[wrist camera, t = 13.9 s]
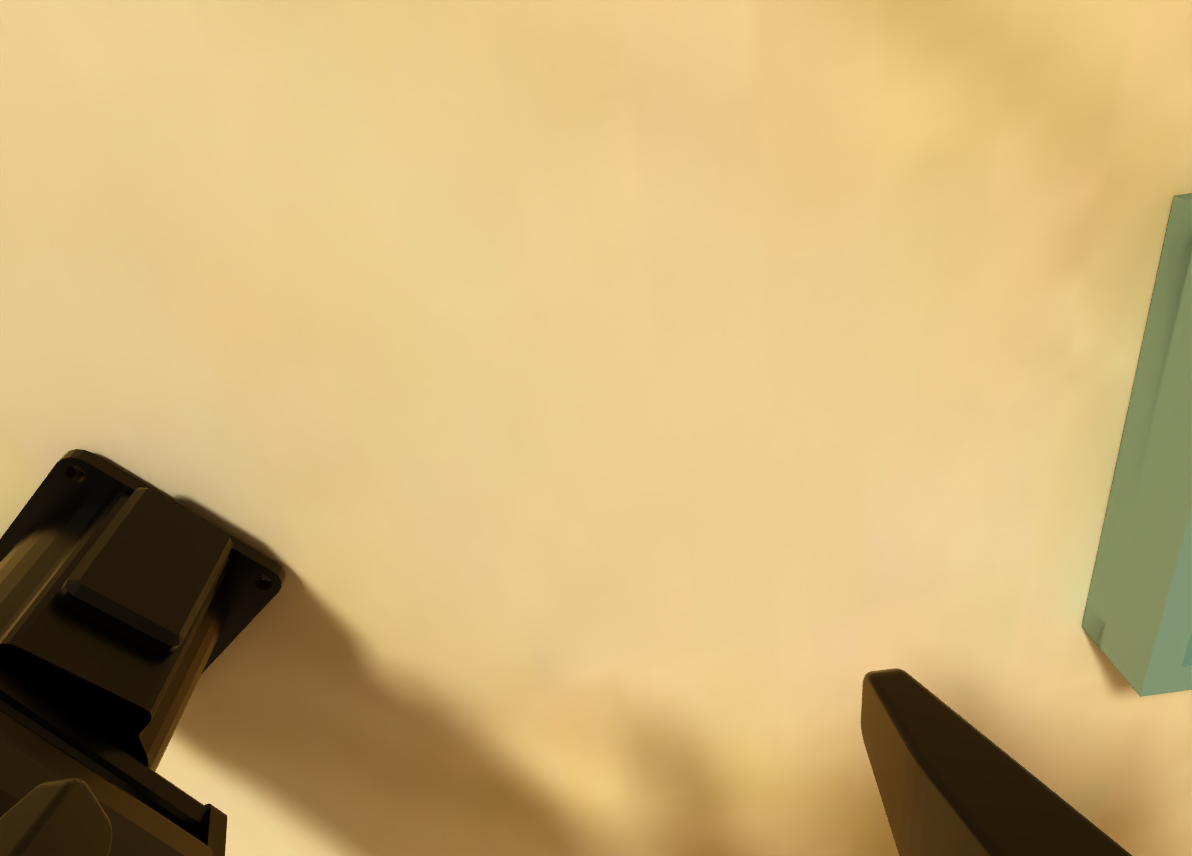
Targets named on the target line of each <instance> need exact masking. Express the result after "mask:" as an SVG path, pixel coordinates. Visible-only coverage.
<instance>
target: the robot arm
mask: <svg viewBox="0 0 1192 856" xmlns="http://www.w3.org/2000/svg"><path fill="white" fill-rule="evenodd" d="M73 465H75V466H78V467H81V468H82V469H83V470H84V471H85V473H86V474H82V473H79V472H77V471H76V470H75V469H74V467H73ZM263 575H264V576H267V577H269V578H270V579H271V581H266V580H263V579H261V578H260V577H259V576H263ZM284 579H285V572H284V570H283V568H282V567H281V566H280V565H279V564H278V563H276V562H275V561H273V560H271V559H270V558H268V557H266V556H265V555H263V554H261V553H260V552H258V551H256V550H254V549H253V548H251V547H249V546H248V545H246V544H244V543H243V542H241V541H239V540H238V539H236V538H234V537H233V536H231V535H229V534H228V533H226V532H224V531H222V530H221V529H219V528H217V527H216V526H214V525H212V524H211V523H209V522H207V521H206V520H204V519H202V518H201V517H199V516H197V515H196V514H194V513H192V512H191V511H189V510H187V509H185V508H184V507H182V506H180V505H179V504H177V503H175V502H174V501H172V500H170V499H169V498H167V497H165V496H164V495H162V494H160V493H159V492H157V491H155V490H153V489H152V488H150V487H148V486H147V485H145V484H143V483H142V482H140V481H138V480H137V479H135V478H133V477H132V476H130V475H128V474H127V473H125V472H123V471H121V470H120V469H118V468H116V467H115V466H113V465H111V464H110V463H108V462H106V461H105V460H103V459H101V458H100V457H98V456H96V455H95V454H93V453H91V452H88V451H86V450H79V449H76V450H71V451H69V452H68V453H66V454H65V455H64V456H63V457H62V458H61V459H60V460H59V461H58V462H57V463H56V465H55V466H54V467H53V469H52V470H51V472H50V473H49V474H48V476H47V477H46V478H45V480H44V481H43V482H42V484H41V485H40V486H39V488H38V489H37V490H36V492H35V493H34V494H33V496H32V497H31V498H30V500H29V501H28V503H27V504H26V505H25V507H24V508H23V509H22V511H21V512H20V513H19V515H18V516H17V517H16V519H15V520H14V521H13V523H12V524H11V525H10V527H9V528H8V529H7V531H6V532H5V534H4V535H3V536H2V538H1V539H0V856H225V844H226V829H227V815H226V814H224V813H223V812H221V811H220V810H218V809H217V808H215V807H214V806H212V805H211V804H206V805H203V804H201V803H200V802H198V801H197V800H196V799H194V798H193V797H191V796H190V795H188V794H187V793H185V792H184V791H182V790H181V789H179V788H178V787H176V786H175V785H174V784H172V783H171V782H169V781H168V780H166V779H165V778H163V777H162V776H160V775H159V774H157V773H156V772H155V771H156V769H157V767H158V765H159V763H160V761H161V759H162V757H163V754H164V752H165V750H166V748H167V746H168V744H169V742H170V739H171V737H172V735H173V733H174V731H175V729H176V727H177V725H178V722H179V720H180V718H181V716H182V714H183V712H184V710H185V708H186V705H187V703H188V701H189V699H190V697H191V695H192V693H193V690H194V688H195V686H196V684H197V682H198V680H199V678H200V676H201V674H202V673H203V672H204V671H205V670H206V669H207V668H208V666H209V665H210V664H211V663H212V662H213V661H214V660H215V659H216V658H217V657H218V656H219V655H220V654H221V653H222V652H223V650H224V649H225V648H226V647H227V646H228V645H229V644H230V643H231V642H232V641H233V640H234V639H235V638H236V637H237V636H238V635H239V633H240V632H241V631H242V630H243V629H244V628H245V627H246V626H247V625H248V624H249V623H250V622H251V621H252V620H253V619H254V617H255V616H256V615H257V614H258V613H259V612H260V611H261V610H262V609H263V608H264V607H265V606H266V605H267V604H268V603H269V602H270V600H271V599H272V598H273V597H274V596H275V595H276V594H277V593H278V592H279V590H280V589H281V587H282V584H283V582H284ZM861 730H862V735H863V740H864V744H865V747H866V750H867V753H868V757H869V760H870V763H871V766H872V769H873V773H874V776H875V779H876V782H877V785H878V789H879V792H880V795H881V798H882V801H883V805H884V808H885V811H886V814H887V817H888V821H889V824H890V827H891V830H892V833H893V837H894V840H895V843H896V846H897V849H898V852H899V855H900V856H1132V855H1131V854H1129V853H1128V852H1127V851H1126V850H1124V849H1123V848H1122V847H1121V846H1120V845H1118V844H1117V843H1116V842H1115V841H1113V840H1112V839H1111V838H1110V837H1108V836H1107V835H1106V834H1105V833H1104V832H1102V831H1101V830H1100V829H1099V828H1097V827H1096V826H1095V825H1094V824H1092V823H1091V822H1090V821H1089V820H1088V819H1086V818H1085V817H1084V816H1083V815H1081V814H1080V813H1079V812H1078V811H1076V810H1075V809H1074V808H1073V807H1072V806H1070V805H1069V804H1068V803H1067V802H1065V801H1064V800H1063V799H1062V798H1060V797H1059V796H1058V795H1057V794H1056V793H1054V792H1053V791H1052V790H1051V789H1049V788H1048V787H1047V786H1046V785H1044V784H1043V783H1042V782H1041V781H1040V780H1038V779H1037V778H1036V777H1035V776H1033V775H1032V774H1031V773H1030V772H1028V771H1027V770H1026V769H1025V768H1024V767H1022V766H1021V765H1020V764H1019V763H1017V762H1016V761H1015V760H1014V759H1012V758H1011V757H1010V756H1009V755H1008V754H1006V753H1005V752H1004V751H1003V750H1001V749H1000V748H999V747H998V746H996V745H995V744H994V743H993V742H992V741H990V740H989V739H988V738H987V737H985V736H984V735H983V734H982V733H980V732H979V731H978V730H977V729H976V728H974V727H973V726H972V725H971V724H969V723H968V722H967V721H966V720H964V719H963V718H962V717H961V716H960V715H958V714H957V713H956V712H955V711H953V710H952V709H951V708H950V707H948V706H947V705H946V704H945V703H944V702H942V701H941V700H940V699H939V698H937V697H936V696H935V695H934V694H932V693H931V692H930V691H929V690H928V689H926V688H925V687H924V686H923V685H921V684H920V683H919V682H918V681H916V680H915V679H914V678H913V677H912V676H910V675H909V674H908V673H907V672H905V671H903V670H901V669H887V670H879V671H872V672H869V673H867V674H866V675H865V677H864V679H863V690H862V709H861Z"/></svg>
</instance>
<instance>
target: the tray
mask: <svg viewBox="0 0 1192 856" xmlns="http://www.w3.org/2000/svg"><path fill="white" fill-rule="evenodd" d="M1082 627H1083V629H1084V630H1085V631H1086V632H1087V633H1088V635H1089V636H1090V637H1091V638H1092V639H1093V641H1094V642H1095V643H1096V644H1097V645H1098V647H1099V648H1100V649H1101V650H1102V651H1103V653H1104V654H1105V655H1106V656H1107V657H1108V659H1109V660H1110V661H1111V662H1112V663H1113V665H1114V666H1115V667H1116V668H1117V669H1118V671H1119V672H1120V673H1121V674H1122V675H1123V677H1124V678H1125V679H1126V680H1127V682H1128V683H1129V684H1130V685H1131V686H1132V688H1133V689H1134V690H1135V691H1136V692H1137V694H1138V695H1139V696H1140V697H1141V696H1149V695H1156V694H1163V693H1170V692H1178V691H1185V690H1192V193H1191V194H1184V195H1177V196H1174V198H1173V203H1172V207H1171V212H1170V217H1169V221H1168V226H1167V231H1166V236H1165V240H1164V245H1163V250H1162V254H1161V259H1160V264H1159V268H1158V273H1157V278H1156V282H1155V287H1154V292H1153V296H1152V301H1151V306H1150V310H1149V315H1148V320H1147V324H1146V329H1145V334H1144V338H1143V343H1142V348H1141V352H1140V357H1139V362H1138V366H1137V371H1136V376H1135V380H1134V385H1133V390H1132V394H1131V399H1130V404H1129V408H1128V413H1127V418H1126V422H1125V427H1124V432H1123V436H1122V441H1121V446H1120V450H1119V455H1118V460H1117V464H1116V469H1115V474H1114V478H1113V483H1112V488H1111V492H1110V497H1109V502H1108V506H1107V511H1106V516H1105V520H1104V525H1103V530H1102V535H1101V539H1100V544H1099V549H1098V553H1097V558H1096V563H1095V567H1094V572H1093V577H1092V581H1091V586H1090V591H1089V595H1088V600H1087V605H1086V609H1085V614H1084V619H1083V623H1082Z"/></svg>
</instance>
